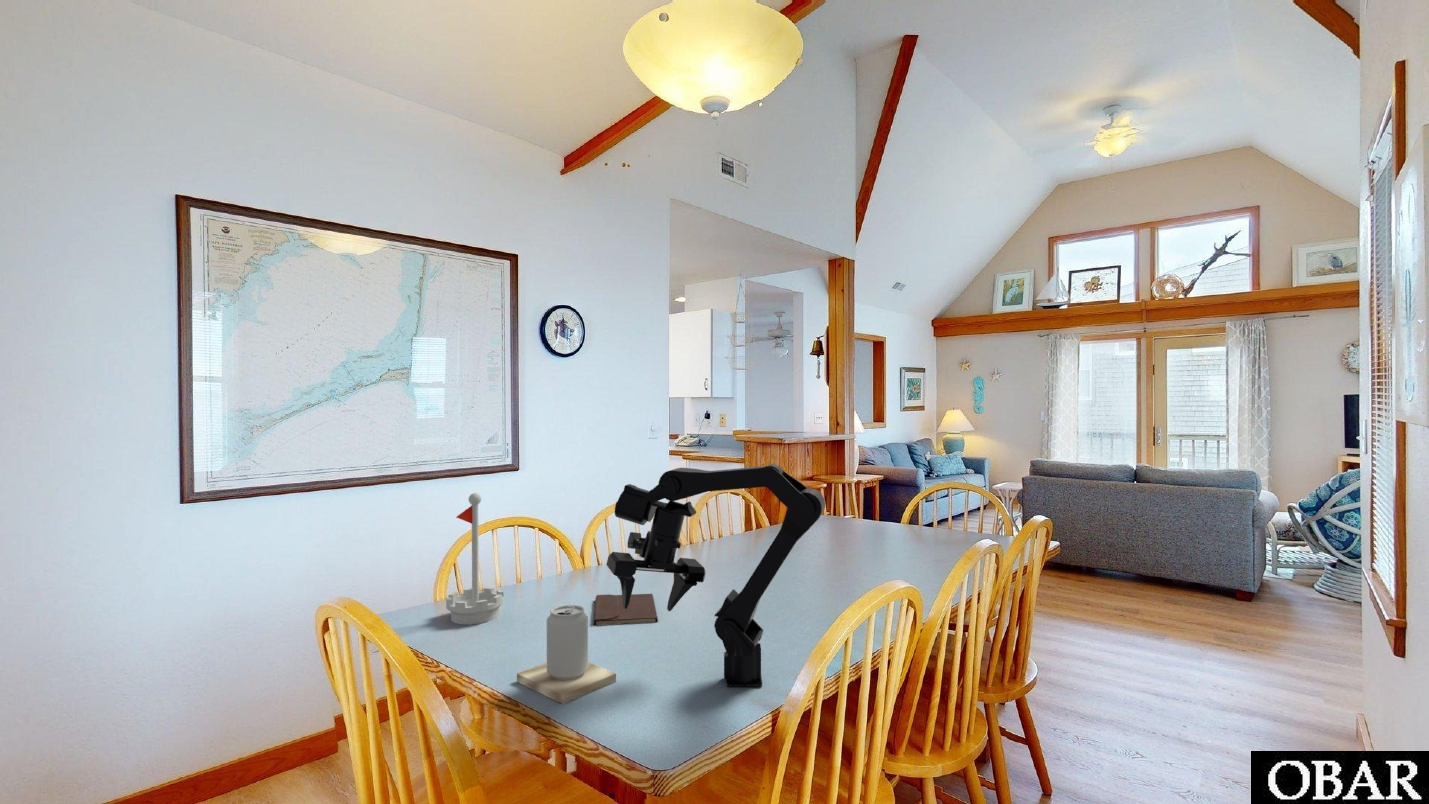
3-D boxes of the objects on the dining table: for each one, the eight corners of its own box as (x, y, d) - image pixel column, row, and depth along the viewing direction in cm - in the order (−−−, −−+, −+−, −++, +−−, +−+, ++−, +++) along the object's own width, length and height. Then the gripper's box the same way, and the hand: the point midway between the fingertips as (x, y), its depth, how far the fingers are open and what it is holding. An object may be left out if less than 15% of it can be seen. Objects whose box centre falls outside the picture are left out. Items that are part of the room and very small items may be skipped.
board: (516, 681, 123) (516, 673, 123) (569, 662, 132) (569, 654, 132) (562, 703, 114) (562, 695, 114) (616, 681, 123) (616, 673, 123)
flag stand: (481, 605, 170) (480, 488, 170) (514, 614, 163) (514, 491, 162) (434, 619, 159) (434, 494, 159) (468, 629, 152) (468, 498, 152)
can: (538, 678, 121) (538, 612, 121) (561, 663, 128) (561, 601, 128) (573, 684, 118) (573, 617, 118) (595, 668, 125) (595, 605, 125)
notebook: (653, 599, 176) (653, 592, 176) (657, 624, 157) (657, 615, 157) (595, 602, 174) (595, 594, 174) (593, 627, 154) (593, 619, 154)
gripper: (692, 523, 139) (675, 594, 140) (608, 514, 131) (590, 589, 132) (714, 542, 129) (696, 618, 130) (624, 532, 121) (605, 614, 122)
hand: (647, 609), depth 129 cm, fingers open, 9 cm apart
